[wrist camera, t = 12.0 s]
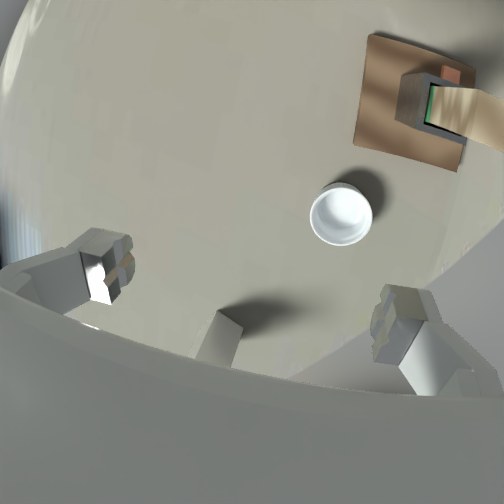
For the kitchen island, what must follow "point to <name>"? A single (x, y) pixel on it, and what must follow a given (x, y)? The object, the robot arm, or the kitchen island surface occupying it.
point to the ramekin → (341, 214)
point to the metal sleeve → (425, 101)
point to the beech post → (467, 114)
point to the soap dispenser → (217, 341)
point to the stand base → (385, 101)
